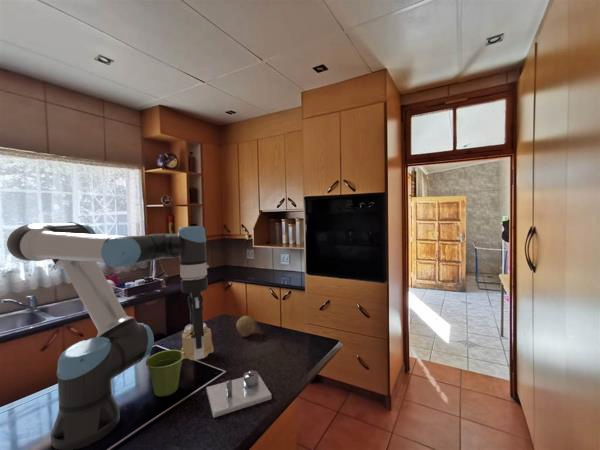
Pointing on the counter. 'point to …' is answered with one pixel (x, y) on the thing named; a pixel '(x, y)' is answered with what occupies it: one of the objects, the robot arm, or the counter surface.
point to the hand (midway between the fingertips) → (197, 351)
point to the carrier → (237, 394)
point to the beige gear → (188, 344)
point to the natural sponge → (245, 326)
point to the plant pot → (165, 371)
